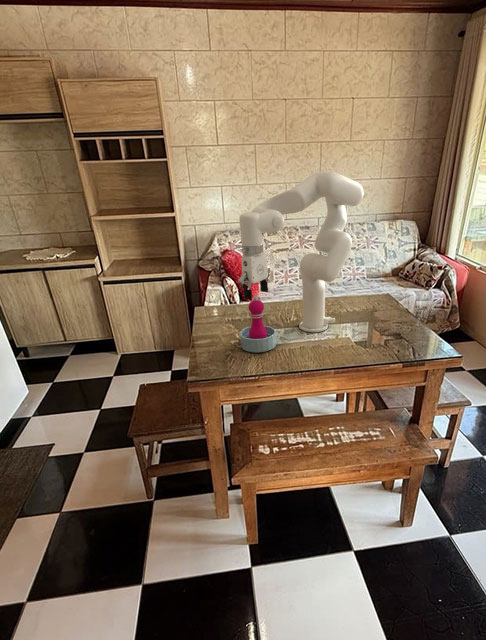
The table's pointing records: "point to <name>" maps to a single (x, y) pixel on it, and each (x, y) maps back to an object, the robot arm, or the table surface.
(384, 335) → the table surface
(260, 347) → the bowl
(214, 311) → the table surface
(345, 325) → the table surface
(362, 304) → the table surface
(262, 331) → the pepper mill
